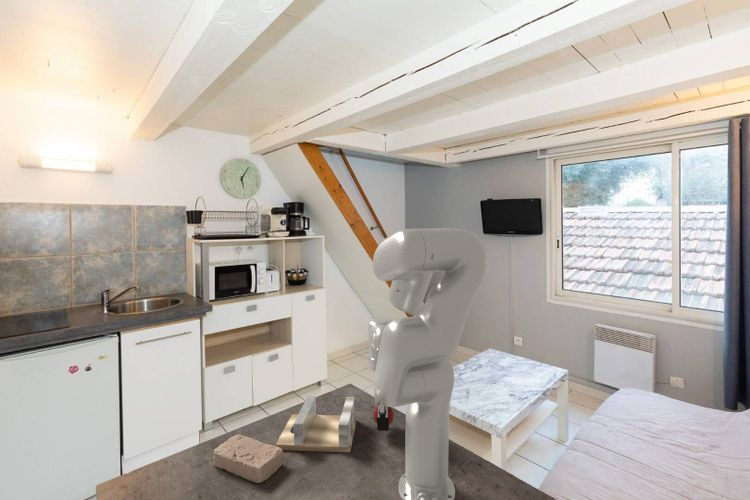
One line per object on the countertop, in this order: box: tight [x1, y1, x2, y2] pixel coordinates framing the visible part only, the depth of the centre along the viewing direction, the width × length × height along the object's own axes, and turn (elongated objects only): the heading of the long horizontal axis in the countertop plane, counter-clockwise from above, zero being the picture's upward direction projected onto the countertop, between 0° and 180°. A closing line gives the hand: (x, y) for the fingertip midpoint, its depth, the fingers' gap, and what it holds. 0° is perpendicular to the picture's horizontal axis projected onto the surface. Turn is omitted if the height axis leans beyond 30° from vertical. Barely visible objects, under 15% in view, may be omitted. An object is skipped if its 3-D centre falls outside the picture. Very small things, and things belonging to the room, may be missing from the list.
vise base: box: [275, 396, 357, 453], centre depth 101 cm, size 15×20×8 cm
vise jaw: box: [290, 395, 317, 445], centre depth 101 cm, size 15×4×6 cm, turn 177°
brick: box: [212, 434, 284, 484], centre depth 88 cm, size 16×8×5 cm, turn 64°
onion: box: [372, 404, 395, 425], centre depth 101 cm, size 6×6×8 cm
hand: (383, 423), depth 102 cm, fingers closed on onion, 5 cm apart
